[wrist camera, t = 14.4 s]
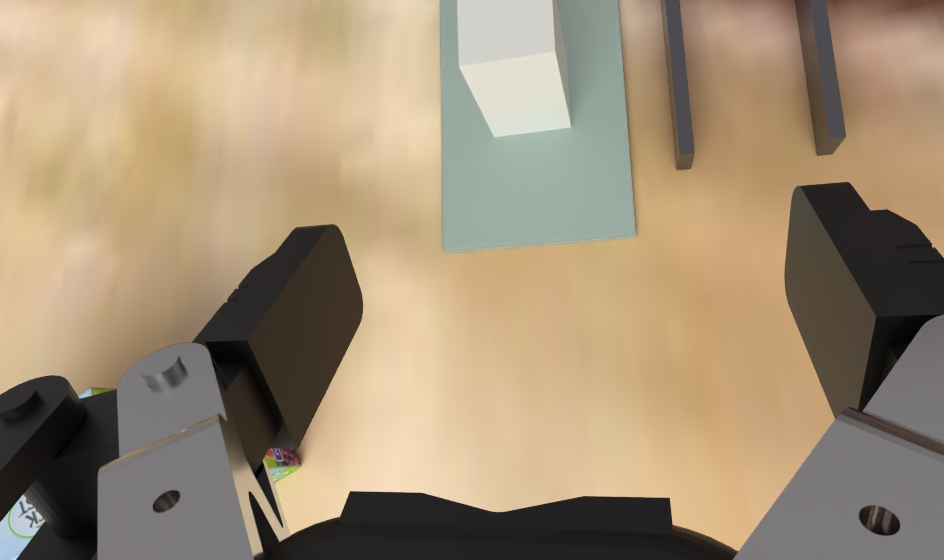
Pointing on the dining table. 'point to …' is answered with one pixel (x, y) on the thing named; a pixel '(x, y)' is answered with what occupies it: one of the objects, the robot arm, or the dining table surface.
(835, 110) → the brackets
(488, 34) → the block
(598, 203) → the mat
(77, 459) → the robot arm
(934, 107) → the dining table surface
